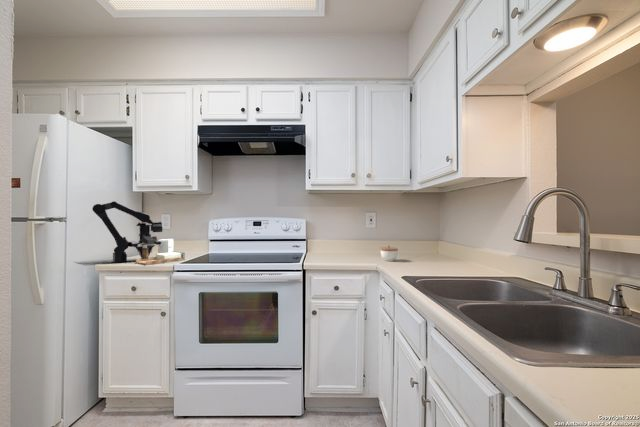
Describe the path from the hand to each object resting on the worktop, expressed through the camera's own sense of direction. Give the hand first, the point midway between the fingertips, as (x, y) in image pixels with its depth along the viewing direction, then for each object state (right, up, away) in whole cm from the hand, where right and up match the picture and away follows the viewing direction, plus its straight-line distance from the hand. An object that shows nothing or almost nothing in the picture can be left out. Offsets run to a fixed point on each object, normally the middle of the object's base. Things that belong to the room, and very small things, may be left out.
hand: (144, 256), depth 200 cm
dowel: (0, -3, 0) cm, 2 cm away
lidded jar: (+159, -2, -8) cm, 159 cm away
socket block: (+17, -1, -2) cm, 17 cm away
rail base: (+14, -2, -6) cm, 16 cm away
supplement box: (+7, -3, +13) cm, 15 cm away
